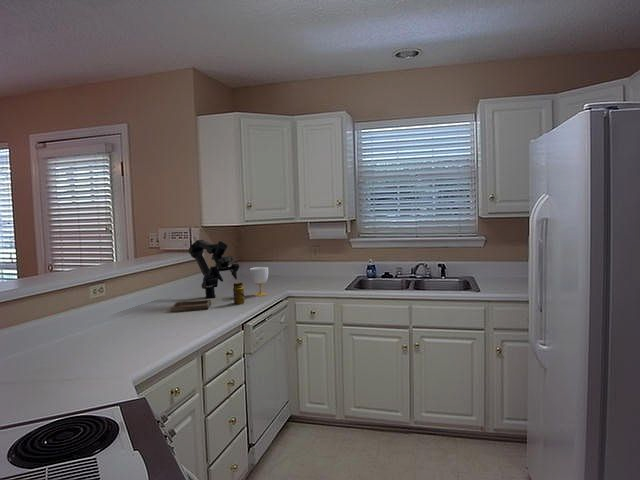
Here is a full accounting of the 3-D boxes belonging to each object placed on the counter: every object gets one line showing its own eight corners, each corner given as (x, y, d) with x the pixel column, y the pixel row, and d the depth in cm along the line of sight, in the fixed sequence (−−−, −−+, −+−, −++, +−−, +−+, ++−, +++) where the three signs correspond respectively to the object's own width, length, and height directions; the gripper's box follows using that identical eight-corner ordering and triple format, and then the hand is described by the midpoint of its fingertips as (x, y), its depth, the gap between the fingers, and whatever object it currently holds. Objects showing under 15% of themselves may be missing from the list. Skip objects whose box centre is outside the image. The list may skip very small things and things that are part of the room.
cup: (273, 293, 300) (271, 266, 299) (263, 296, 290) (261, 269, 289) (257, 292, 305) (256, 266, 304) (247, 296, 295) (245, 269, 294)
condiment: (247, 303, 271) (245, 283, 271) (233, 305, 267) (232, 285, 266) (242, 301, 278) (240, 281, 277) (228, 304, 273) (227, 283, 272)
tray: (176, 306, 274) (176, 302, 274) (211, 303, 276) (210, 299, 276) (170, 312, 258) (170, 308, 258) (207, 309, 260) (207, 305, 260)
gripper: (209, 253, 274) (219, 273, 267) (237, 250, 286) (247, 269, 279) (204, 265, 281) (213, 285, 274) (231, 261, 293) (241, 281, 285)
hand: (229, 280), depth 278 cm, fingers open, 9 cm apart
